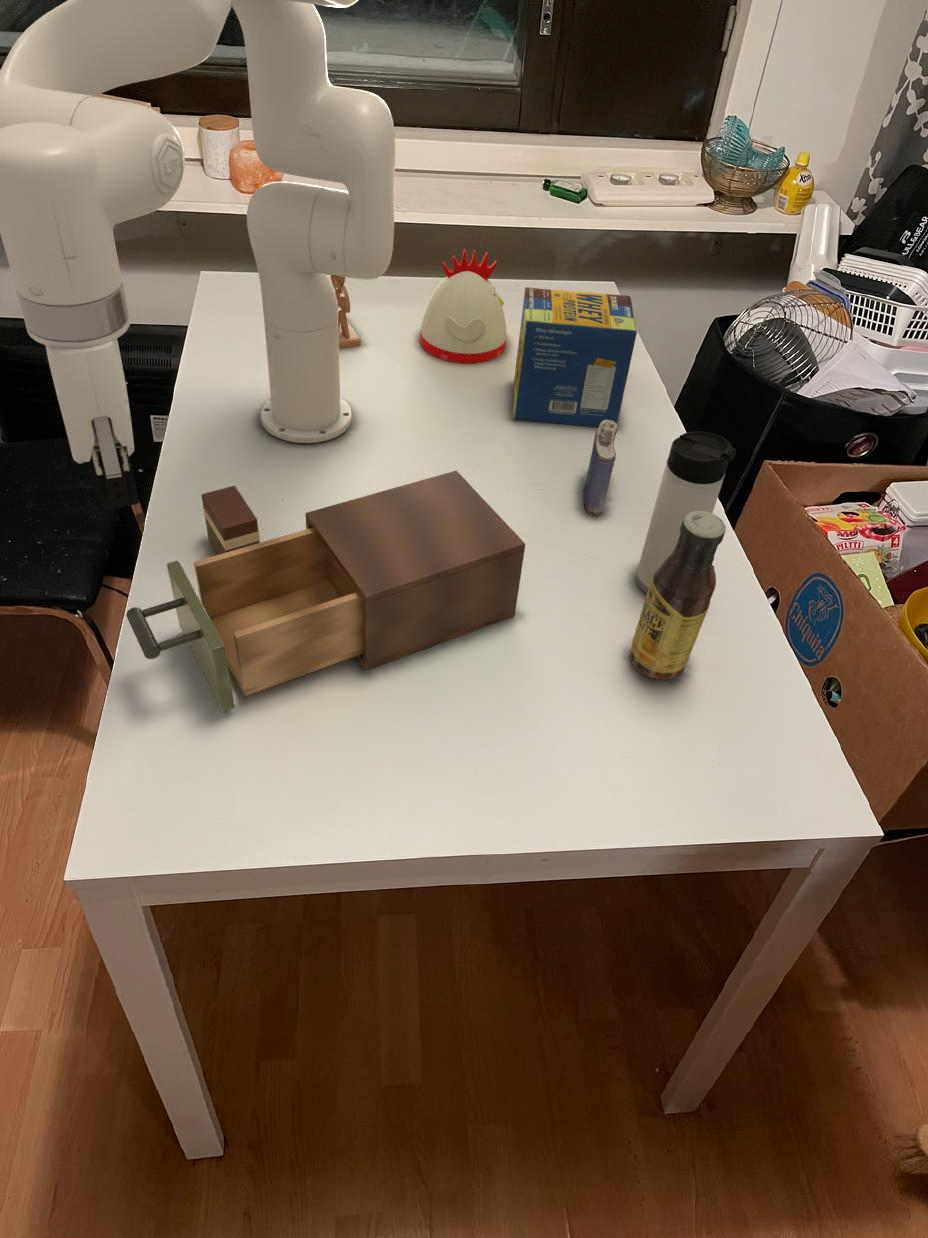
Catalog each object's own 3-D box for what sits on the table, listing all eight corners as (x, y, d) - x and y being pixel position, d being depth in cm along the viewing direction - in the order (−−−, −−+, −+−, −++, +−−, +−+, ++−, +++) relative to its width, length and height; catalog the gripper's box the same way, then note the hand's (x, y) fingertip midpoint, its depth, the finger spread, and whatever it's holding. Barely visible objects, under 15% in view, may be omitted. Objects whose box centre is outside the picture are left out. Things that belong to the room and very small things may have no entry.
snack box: (229, 576, 105) (222, 529, 100) (208, 541, 110) (200, 493, 105) (262, 566, 107) (257, 519, 102) (241, 532, 111) (234, 484, 106)
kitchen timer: (505, 366, 144) (516, 273, 134) (418, 359, 144) (421, 265, 134) (504, 325, 154) (514, 235, 144) (422, 318, 154) (426, 228, 144)
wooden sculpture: (361, 345, 146) (361, 271, 138) (338, 348, 145) (336, 274, 136) (343, 319, 152) (342, 247, 143) (320, 322, 150) (317, 249, 142)
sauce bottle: (623, 642, 102) (662, 497, 88) (677, 641, 103) (725, 498, 89) (635, 686, 98) (678, 541, 84) (692, 685, 98) (744, 542, 84)
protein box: (512, 383, 141) (524, 285, 130) (612, 392, 141) (632, 294, 130) (512, 420, 133) (524, 319, 122) (617, 429, 134) (639, 329, 123)
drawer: (169, 731, 88) (153, 669, 82) (128, 641, 96) (111, 578, 90) (383, 654, 97) (384, 592, 91) (330, 577, 105) (327, 516, 99)
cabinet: (366, 670, 96) (365, 596, 89) (309, 586, 105) (305, 512, 98) (514, 616, 104) (525, 543, 97) (450, 541, 113) (456, 469, 105)
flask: (603, 517, 118) (618, 446, 111) (580, 514, 118) (594, 443, 111) (606, 476, 125) (621, 407, 117) (584, 473, 125) (598, 404, 118)
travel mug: (678, 609, 107) (724, 466, 93) (626, 586, 109) (664, 443, 95) (698, 580, 111) (745, 439, 97) (648, 559, 113) (687, 417, 99)
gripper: (16, 271, 74) (68, 462, 87) (28, 360, 64) (85, 561, 77) (114, 262, 76) (150, 450, 89) (140, 347, 67) (177, 544, 79)
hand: (120, 501), depth 83 cm, fingers closed
